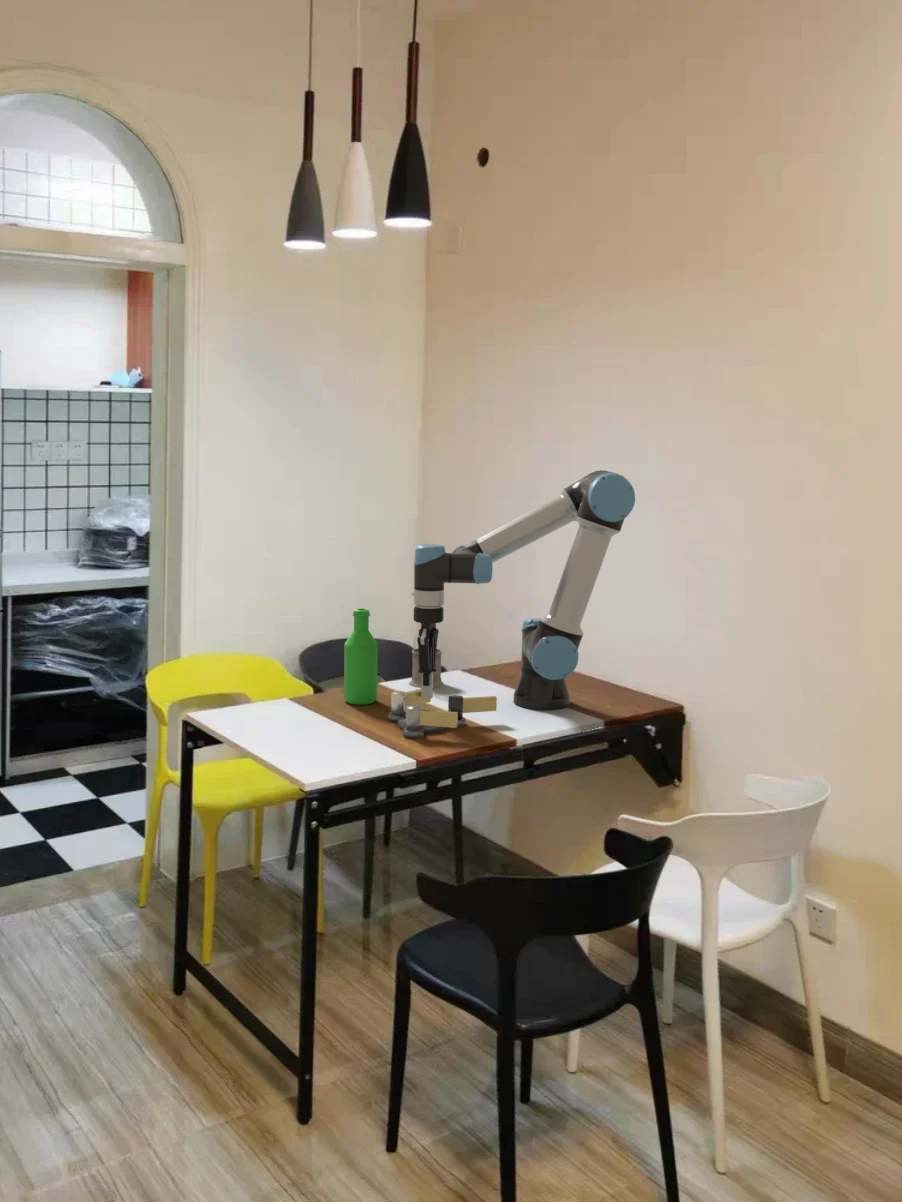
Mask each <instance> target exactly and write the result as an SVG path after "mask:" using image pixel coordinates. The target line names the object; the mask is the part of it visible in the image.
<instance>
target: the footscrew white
mask: <svg viewBox="0 0 902 1202" xmlns="http://www.w3.org/2000/svg"><path fill="white" fill-rule="evenodd" d="M431 699H432V698H421V688H418V689H414V690H413V689H412V690H410V691H403V690H394V691H391V693H390V712H391V715H395V716H401V715H403V714H405V712H406V707H407V706H411V705H416V706H419V705H423V704H426V703H431Z"/></svg>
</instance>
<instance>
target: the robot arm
mask: <svg viewBox="0 0 902 1202" xmlns="http://www.w3.org/2000/svg"><path fill="white" fill-rule="evenodd" d="M635 504H636V492H635V489H634V487H633V485H632V484H631V481H629V480H628V479H627V478H626V477H625V476H624V475H621V474H619V473H617V472H613V471H607V470H601V469H600V470H596V471H593V472H590V473H588V474H587V475H584V477H581V478H580V479H579V480H577V481H575V482H574V483H572V484H571V485H569V486H567V487H565V488H563V489H562V490H561V492H560V495H558V496H556V497H554V498H553V499H551V500H549V501H547V502H545V503H543V504H541V505H538V506H537V507H535V508H534V509H532V510H530V511H528V512H525V513H524V514H522V515H520V516H518V517H517V518H515V519H513V520H511V521H509V522H507V523H505V524H503V525H501V526H500V527H497V528H496V529H493V530H492V531H490V532H487V533H486V534H484V535H483V536H480V537H478V538H477V539H475V540H473V541H471V542H469V543H467V544H465V545H460V546H457V547H456V548H454V549H453V551H452V552H451V553H450V552H446V546H444V545H441V544H434V543H432V544H431V543H429V544H428V543H425V544H424V543H423V544H419V545H417V546H416V547H415V549H414V550H415V551H414V562H413V563H414V564H413V565H414V567H413V569H414V572H413V573H414V575H413V577H414V579H413V580H414V581H413V582H414V583H413V584H414V585H413V588H414V590H413V592H411V595H412V596H413V605H415V606H414V607H413V621H414V622H416V623H420V629H419V630H418V636H417V640H416V642H417V646H418V649H419V671H418V673H422V680H421V688H420V689H421V698H431V699H433V697H434V688H433V672H436V670H437V669H434V668H435V666H436V651H437V649H438V637H439V634H440V632H439V629H438V628H437V624H440V623H442V622H443V621H444V612H445V611H444V607H443V606H444V604H445V584H476V585H480V584H489V583H491V581H492V578H493V564H494V563H496V562H499V560H501V559H503V558H505V557H507V556H509V555H510V554H513V553H515V552H517V551H518V550H520V549H521V550H522V548H524V547H526V546H528V545H530V544H532V543H534V542H536V541H538V540H540V539H542V538H544V537H545V536H547V535H550V534H551V533H553V532H555V531H557V530H559V529H561V528H563V527H565V526H567V525H568V524H570V523H572V522H577V523H578V528H577V532H576V534H575V538H574V540H573V543H572V545H571V549H570V551H569V554H568V556H567V560H566V563H565V566H564V569H563V571H562V574H561V576H560V579H559V582H558V585H557V588H556V591H555V594H554V596H553V599H552V602H551V605H550V607H549V611H548V614H546V615H545V616H542V617H540V618H526V619H524V621H522V627H521V633H522V634H521V659H520V660H521V661H520V665H521V666H520V675H519V679H518V681H517V684H516V686H515V688H514V692H513V703H514V704H515V705H516V706H518V707H519V706H520V707H522V708H526V709H533V710H559V709H564V708H566V707H567V708H568V707H569V705H570V703H571V695H570V691H569V689H568V685H567V681H566V678H567V677H568V676H570V675H571V674H572V673H573V672H574V671H575V669H576V668H577V666H578V662H579V658H580V657H579V651H578V650H579V647H580V645H581V642H582V639H583V636H584V632H583V630H582V627H581V624H582V621H583V617H584V616H585V613H586V611H587V608H588V604H589V602H590V598H591V596H592V593H593V590H594V587H595V584H596V582H597V579H598V576H599V574H600V570H601V568H602V564H603V562H604V560H605V556H606V554H607V551H608V549H609V545H610V543H611V540H612V538H613V536H615V535H617V534H620V532H621V530H622V527H623V524H624V522H625V519H626V518H627V517H628V516H629V515H630V514H631V512H633V509H634V507H635Z"/></svg>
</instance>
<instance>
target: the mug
mask: <svg viewBox="0 0 902 1202" xmlns="http://www.w3.org/2000/svg"><path fill="white" fill-rule="evenodd" d="M411 653H412V672H411V673H412V675H411V676H412V677H411V680H410V681H409V682H408V685H410V686H412V687H414V688H418V689H421V680H422V673H418V671H419V649H418V648H414V649H412V650H411ZM442 654H443V651H442V649H440V648H437V651H436V666H435V668H434V669H437V670H436V672H433V689H435V688H440V687H443V686H444V681H442V675H441V673H442Z"/></svg>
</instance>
